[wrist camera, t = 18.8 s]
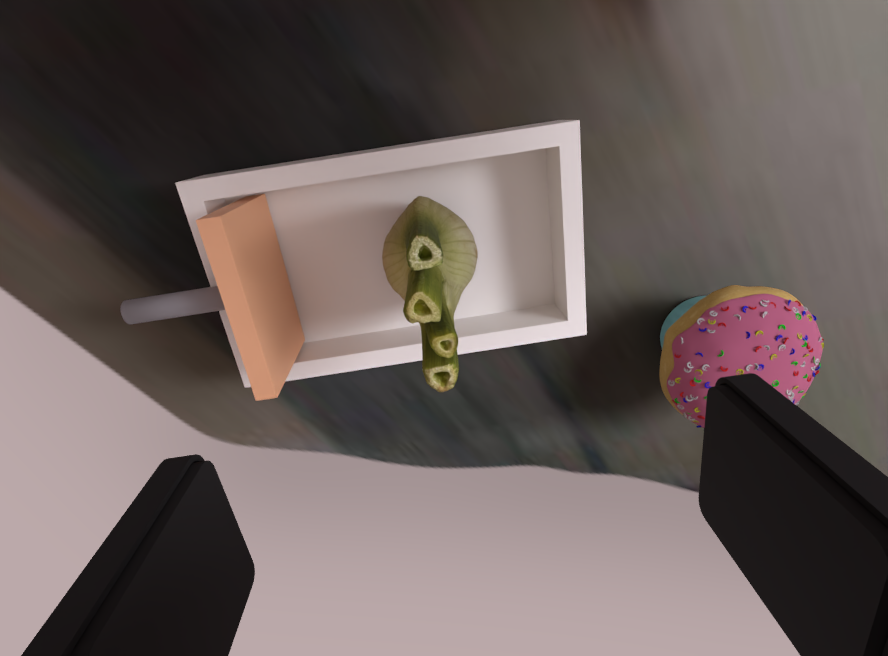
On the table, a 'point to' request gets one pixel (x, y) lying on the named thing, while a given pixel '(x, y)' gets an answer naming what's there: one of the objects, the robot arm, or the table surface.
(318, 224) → the white tray
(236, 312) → the pusher
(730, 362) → the cupcake
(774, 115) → the table surface
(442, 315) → the fennel bulb
